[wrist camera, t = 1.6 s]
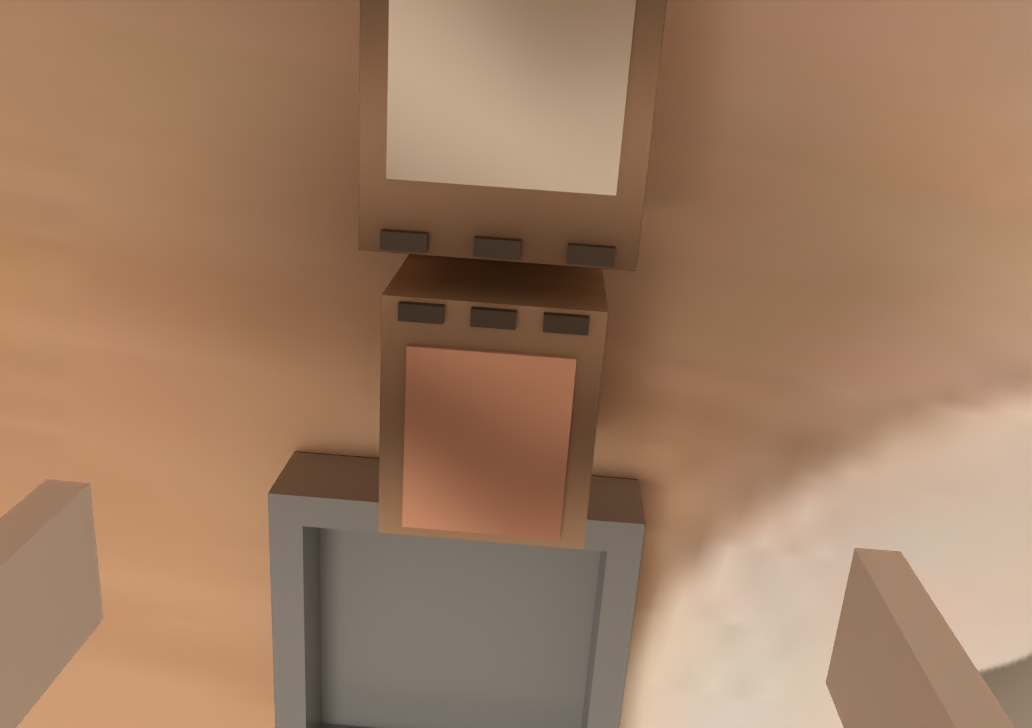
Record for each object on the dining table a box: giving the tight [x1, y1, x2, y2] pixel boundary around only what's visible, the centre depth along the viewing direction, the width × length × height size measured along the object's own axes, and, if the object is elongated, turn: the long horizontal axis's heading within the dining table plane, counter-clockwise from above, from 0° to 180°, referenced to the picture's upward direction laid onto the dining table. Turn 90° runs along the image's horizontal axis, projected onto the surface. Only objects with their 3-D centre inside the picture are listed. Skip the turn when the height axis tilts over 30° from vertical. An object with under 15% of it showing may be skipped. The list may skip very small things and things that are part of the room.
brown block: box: [378, 254, 608, 549], centre depth 25 cm, size 6×5×7 cm
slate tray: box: [268, 452, 645, 728], centre depth 30 cm, size 11×11×3 cm
